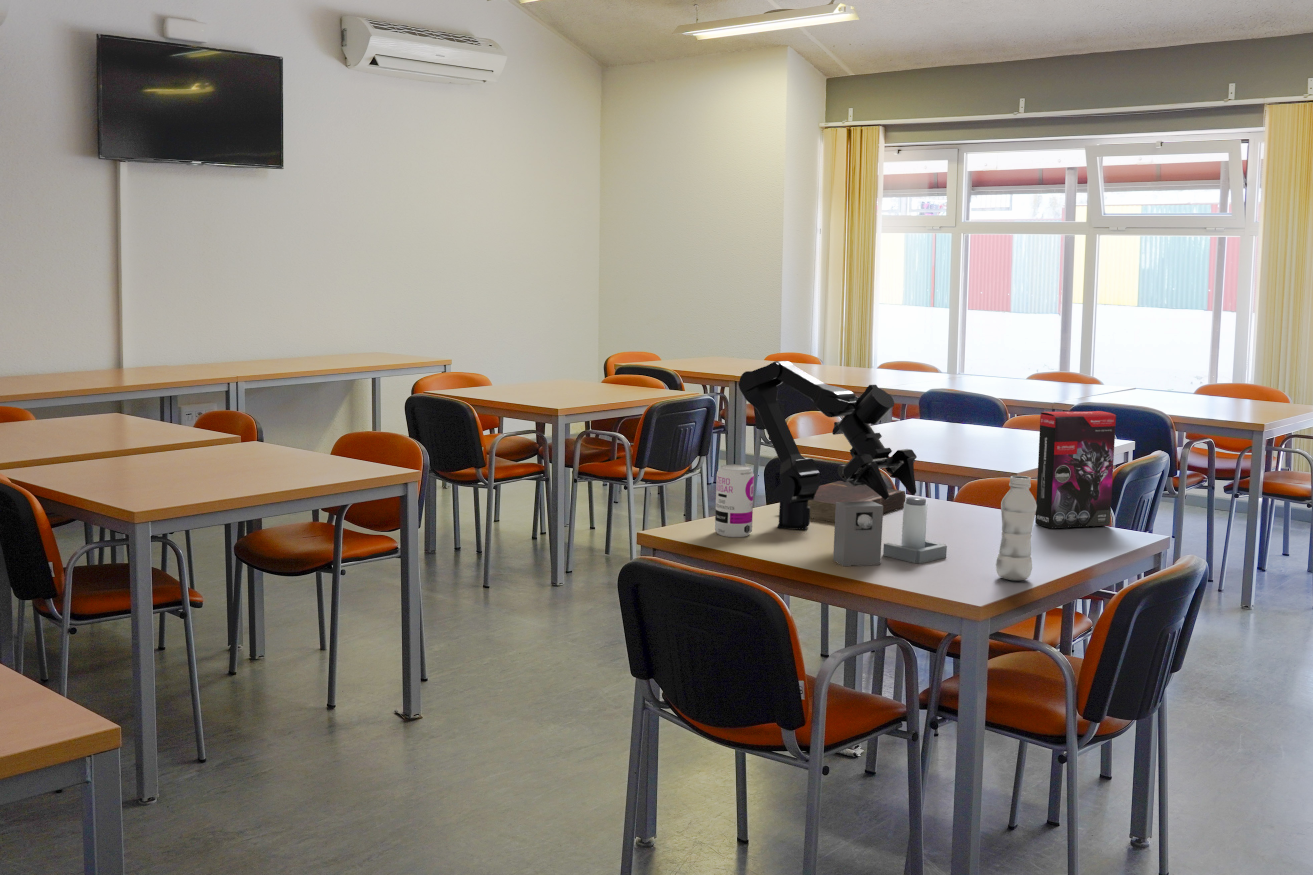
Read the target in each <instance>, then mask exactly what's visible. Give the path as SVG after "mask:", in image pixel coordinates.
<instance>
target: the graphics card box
mask: <svg viewBox="0 0 1313 875" xmlns="http://www.w3.org/2000/svg"><path fill="white" fill-rule="evenodd" d="M1039 415H1040V416H1039V417H1040V418H1039V440H1038V442H1039V443H1038V459H1037V460H1038V461H1037V462H1038V464H1037V479H1036V480H1037V481H1036V482H1037V483H1036V497H1035V498H1036V499H1035V501H1036V504H1037V508H1036V513H1035V518H1034V520H1035V524H1036V525H1039V526H1042V527H1044V528H1047V529H1069V528H1079V527H1081V528H1083V527H1084V528H1085V527H1089V526H1093V527H1099V526H1100V527H1103V526H1110V525H1111V511H1112V493H1113V477H1114V476H1113V473H1114V460H1115V459H1114V458H1115V455H1114V454H1115V441H1116V440H1115V439H1116V423H1117V422H1116V421H1117V415H1116V414H1115V413H1112V412H1107V411H1102V410H1096V411H1094V410H1093V411H1040V414H1039Z"/></svg>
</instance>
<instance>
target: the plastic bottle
mask: <svg viewBox="0 0 1313 875" xmlns="http://www.w3.org/2000/svg"><path fill="white" fill-rule="evenodd" d="M1009 478H1010V479H1009V484H1008V486H1009V487H1010V488H1009V490H1008V491H1007V493H1005V495H1004V496H1003V498H1002V500H1001V503H1000V512H1001V540H1000V546H999V551H998V555H997V557H996V558H997V559H996V563H995V571H996V574H997V575H998V577H999V578H1001V579H1005V580H1009V581H1013V582H1014V581H1025V580H1028V579H1029V578H1030V577H1031V574H1032V570H1033V561H1032V546H1031V545H1032V540H1031V539H1032V533H1033V526H1034V520H1035V517H1036V508H1037V504H1036V499H1035V497H1034V495H1033V494H1032V492H1031V491H1030V488H1031V486H1032V484H1031V477H1030V476H1026V475H1011V476H1010V477H1009Z"/></svg>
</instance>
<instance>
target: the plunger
mask: <svg viewBox="0 0 1313 875" xmlns="http://www.w3.org/2000/svg"><path fill="white" fill-rule="evenodd" d="M872 524H873V519H872V518H871V517H870V516H869V515H866V514H864V513H862V512H860V513H856V525H857V526H859V527H861V528H863V529H869V528H870V527H871V526H872Z"/></svg>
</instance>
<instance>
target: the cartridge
mask: <svg viewBox="0 0 1313 875" xmlns="http://www.w3.org/2000/svg"><path fill="white" fill-rule="evenodd" d="M927 517H928V503H927V499H926V498H923V497H918V496H908V497H906V499H905V502H904V508H903V514H902V528H901V529H902V530H901V544H900V546H904V547H909V548H913V549H921V548H925V540H927V539H926V534H927V523H928V522H927V520H928V518H927Z"/></svg>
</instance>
